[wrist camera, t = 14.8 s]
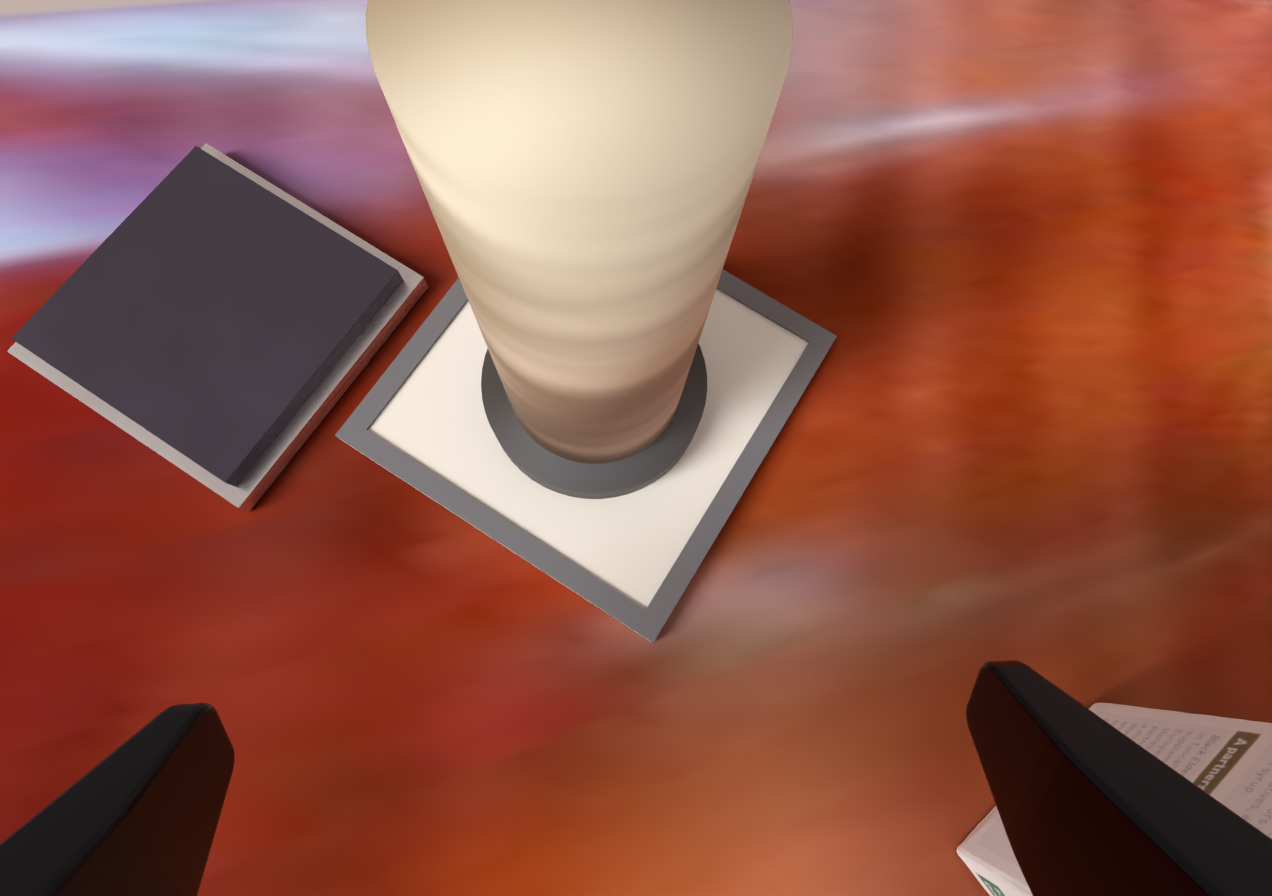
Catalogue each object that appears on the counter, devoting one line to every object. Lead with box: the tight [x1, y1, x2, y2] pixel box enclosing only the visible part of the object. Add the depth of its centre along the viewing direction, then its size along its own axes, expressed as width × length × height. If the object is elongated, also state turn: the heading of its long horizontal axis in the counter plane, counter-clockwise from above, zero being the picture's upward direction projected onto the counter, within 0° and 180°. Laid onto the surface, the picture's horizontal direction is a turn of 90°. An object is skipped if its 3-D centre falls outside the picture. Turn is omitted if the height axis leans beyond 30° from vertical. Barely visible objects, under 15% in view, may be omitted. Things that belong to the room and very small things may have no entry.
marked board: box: [335, 269, 837, 643], centre depth 20 cm, size 10×10×1 cm
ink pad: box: [7, 144, 428, 512], centre depth 20 cm, size 8×8×1 cm
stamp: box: [366, 0, 793, 499], centre depth 14 cm, size 6×6×13 cm
